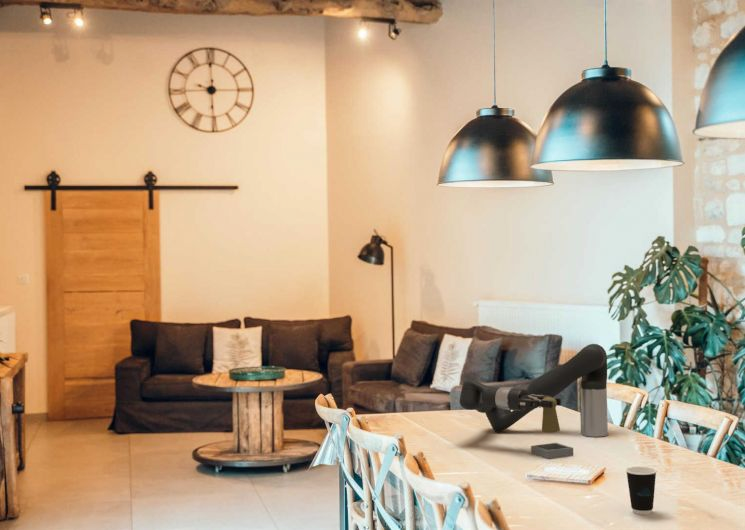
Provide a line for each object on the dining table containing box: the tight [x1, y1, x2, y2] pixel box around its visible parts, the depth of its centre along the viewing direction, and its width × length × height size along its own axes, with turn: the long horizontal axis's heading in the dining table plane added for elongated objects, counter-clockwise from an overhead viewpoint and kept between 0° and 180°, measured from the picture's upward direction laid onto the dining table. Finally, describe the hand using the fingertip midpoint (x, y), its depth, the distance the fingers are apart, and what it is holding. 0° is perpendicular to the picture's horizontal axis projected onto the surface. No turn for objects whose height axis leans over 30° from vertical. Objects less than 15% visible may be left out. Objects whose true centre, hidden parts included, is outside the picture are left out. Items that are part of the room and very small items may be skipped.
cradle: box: [530, 442, 574, 460], centre depth 320 cm, size 10×10×3 cm
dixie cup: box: [625, 466, 658, 515], centre depth 249 cm, size 8×8×11 cm
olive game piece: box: [541, 397, 561, 434], centre depth 320 cm, size 6×6×11 cm
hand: (556, 403), depth 318 cm, fingers closed on olive game piece, 5 cm apart
